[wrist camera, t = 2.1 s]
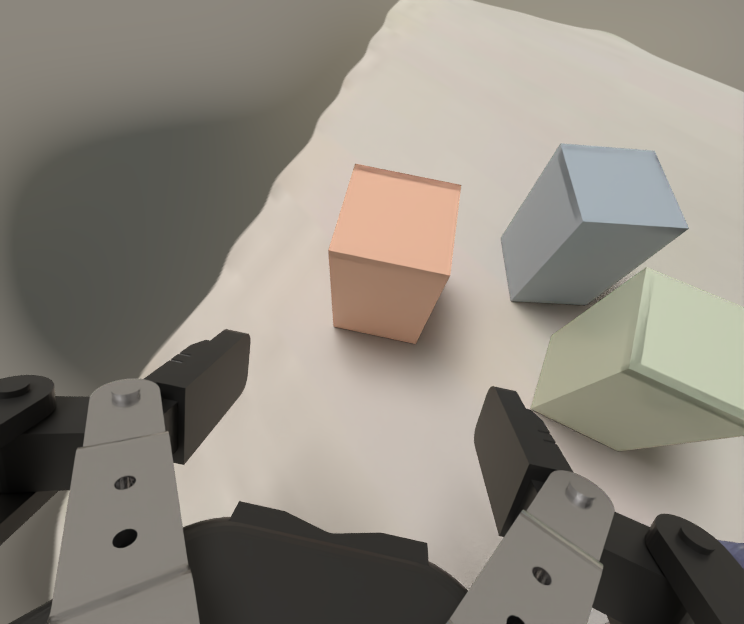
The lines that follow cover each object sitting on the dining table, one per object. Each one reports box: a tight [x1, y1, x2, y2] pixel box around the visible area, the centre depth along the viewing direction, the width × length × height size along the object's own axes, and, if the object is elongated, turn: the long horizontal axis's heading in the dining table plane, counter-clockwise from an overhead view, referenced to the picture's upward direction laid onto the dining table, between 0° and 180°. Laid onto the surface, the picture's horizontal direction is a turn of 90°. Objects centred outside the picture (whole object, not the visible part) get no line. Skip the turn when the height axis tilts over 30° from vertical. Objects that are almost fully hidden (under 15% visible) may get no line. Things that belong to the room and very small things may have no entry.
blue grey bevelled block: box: [501, 144, 689, 305], centre depth 27 cm, size 6×6×10 cm
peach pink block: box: [328, 164, 461, 344], centre depth 25 cm, size 6×6×10 cm
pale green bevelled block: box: [531, 267, 744, 451], centre depth 22 cm, size 6×6×10 cm
